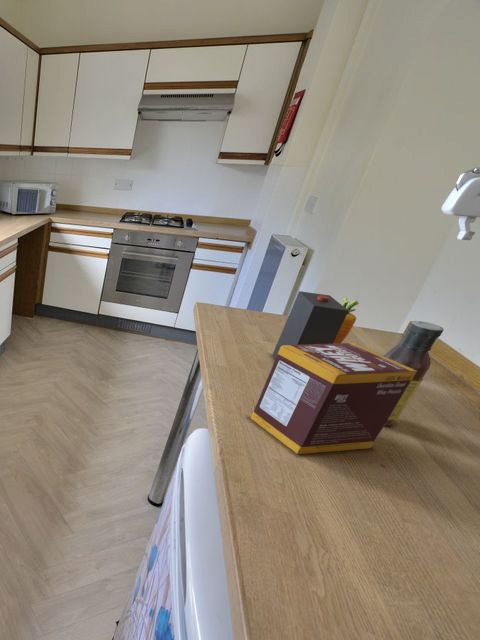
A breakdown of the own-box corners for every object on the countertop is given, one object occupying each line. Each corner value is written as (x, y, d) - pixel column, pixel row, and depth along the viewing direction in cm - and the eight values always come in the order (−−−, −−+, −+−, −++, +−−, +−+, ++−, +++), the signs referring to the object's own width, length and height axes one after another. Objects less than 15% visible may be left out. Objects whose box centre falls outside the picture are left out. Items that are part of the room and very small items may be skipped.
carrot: (313, 347, 108) (337, 293, 102) (336, 353, 106) (363, 298, 99) (314, 354, 105) (339, 298, 98) (338, 360, 102) (366, 303, 96)
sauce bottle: (353, 404, 84) (403, 314, 75) (395, 418, 80) (452, 324, 71) (350, 416, 79) (402, 323, 71) (393, 432, 75) (454, 334, 67)
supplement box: (372, 448, 71) (419, 370, 64) (297, 455, 68) (338, 374, 61) (317, 413, 80) (353, 341, 73) (249, 418, 77) (280, 344, 71)
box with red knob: (357, 371, 97) (395, 300, 89) (379, 393, 88) (422, 317, 80) (272, 355, 103) (300, 287, 95) (283, 374, 94) (315, 301, 86)
